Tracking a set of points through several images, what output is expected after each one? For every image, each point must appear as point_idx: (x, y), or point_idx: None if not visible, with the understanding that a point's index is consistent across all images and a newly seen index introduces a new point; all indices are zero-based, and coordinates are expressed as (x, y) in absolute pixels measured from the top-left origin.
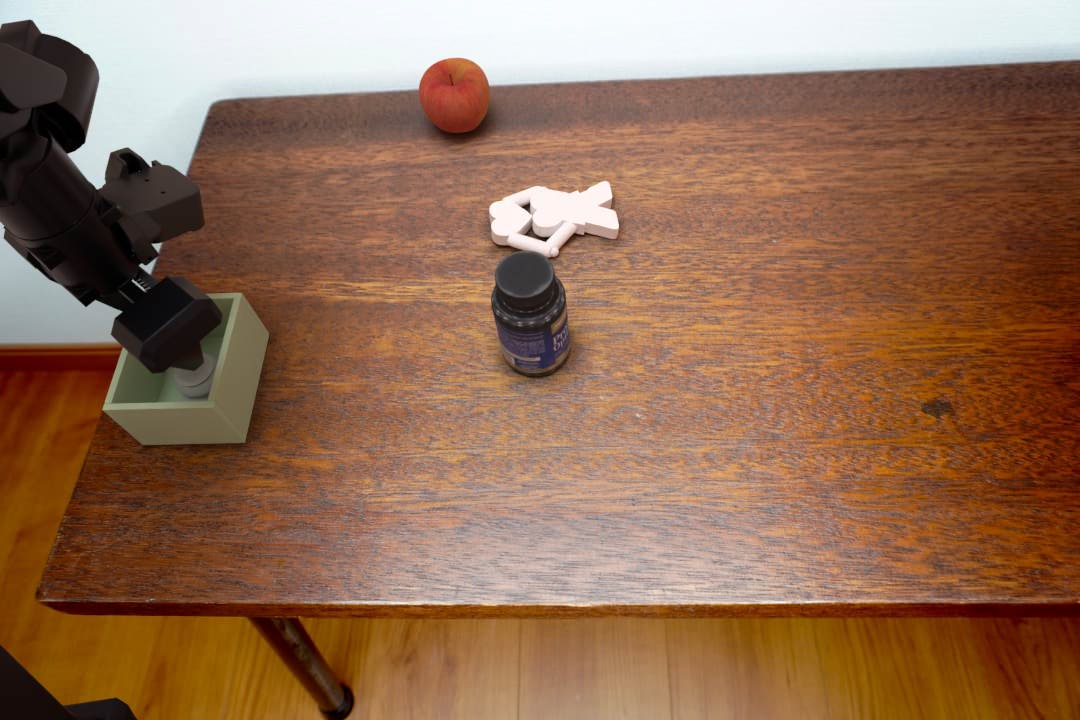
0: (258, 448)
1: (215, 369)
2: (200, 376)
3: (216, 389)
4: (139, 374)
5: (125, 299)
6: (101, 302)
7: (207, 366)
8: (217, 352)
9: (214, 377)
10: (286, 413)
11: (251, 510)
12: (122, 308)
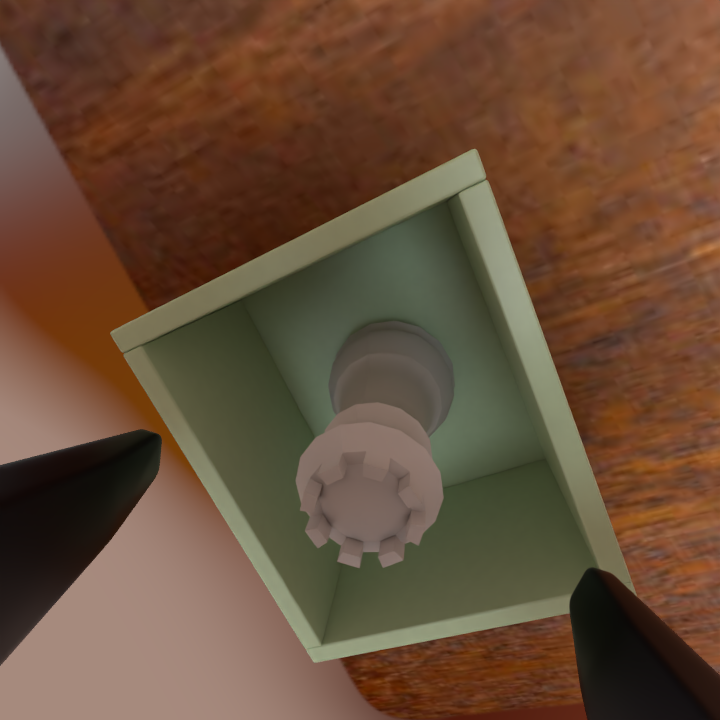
0: (598, 458)
1: (437, 376)
2: (429, 425)
3: (616, 549)
4: (285, 488)
5: (117, 490)
6: (57, 599)
7: (431, 395)
8: (365, 293)
9: (584, 517)
10: (626, 365)
11: (651, 566)
12: (134, 497)
